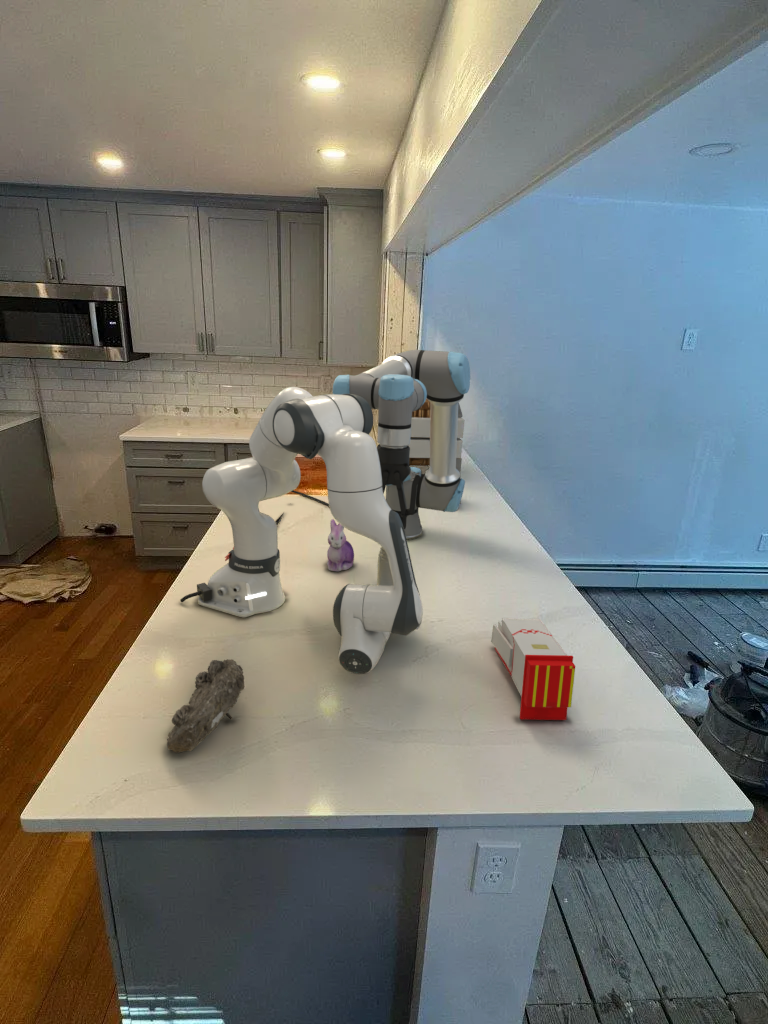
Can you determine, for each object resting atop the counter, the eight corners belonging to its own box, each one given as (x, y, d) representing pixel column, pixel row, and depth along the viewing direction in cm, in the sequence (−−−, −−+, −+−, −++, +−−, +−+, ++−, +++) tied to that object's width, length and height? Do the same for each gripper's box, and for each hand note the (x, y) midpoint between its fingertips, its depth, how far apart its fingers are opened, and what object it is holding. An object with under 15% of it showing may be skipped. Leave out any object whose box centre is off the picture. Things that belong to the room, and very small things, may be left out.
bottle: (391, 614, 147) (396, 530, 139) (396, 624, 143) (401, 538, 135) (373, 616, 146) (376, 531, 138) (377, 626, 141) (381, 539, 133)
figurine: (332, 575, 167) (332, 527, 162) (319, 561, 175) (319, 516, 170) (361, 569, 171) (362, 523, 166) (347, 556, 179) (348, 512, 174)
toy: (537, 603, 136) (584, 662, 106) (532, 655, 138) (577, 726, 109) (487, 602, 135) (520, 661, 106) (483, 654, 138) (514, 725, 109)
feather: (291, 507, 225) (293, 503, 224) (273, 530, 198) (276, 526, 198) (287, 504, 224) (289, 500, 224) (269, 528, 198) (272, 523, 197)
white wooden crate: (382, 463, 289) (386, 382, 275) (445, 464, 293) (451, 384, 279) (390, 482, 257) (394, 392, 243) (460, 483, 261) (468, 394, 247)
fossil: (192, 660, 117) (244, 628, 112) (224, 691, 120) (276, 661, 115) (142, 746, 98) (202, 712, 93) (182, 779, 101) (242, 748, 96)
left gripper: (419, 619, 127) (428, 591, 140) (331, 605, 131) (348, 579, 144) (417, 643, 129) (426, 613, 142) (331, 629, 133) (348, 601, 146)
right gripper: (432, 443, 131) (425, 537, 139) (358, 438, 133) (356, 531, 141) (430, 451, 124) (423, 549, 132) (353, 446, 126) (350, 542, 134)
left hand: (386, 596), depth 143 cm, fingers closed on bottle, 5 cm apart
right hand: (388, 539), depth 137 cm, fingers closed on cap, 4 cm apart
